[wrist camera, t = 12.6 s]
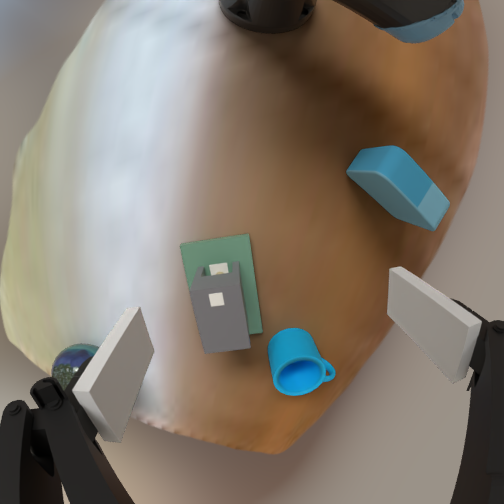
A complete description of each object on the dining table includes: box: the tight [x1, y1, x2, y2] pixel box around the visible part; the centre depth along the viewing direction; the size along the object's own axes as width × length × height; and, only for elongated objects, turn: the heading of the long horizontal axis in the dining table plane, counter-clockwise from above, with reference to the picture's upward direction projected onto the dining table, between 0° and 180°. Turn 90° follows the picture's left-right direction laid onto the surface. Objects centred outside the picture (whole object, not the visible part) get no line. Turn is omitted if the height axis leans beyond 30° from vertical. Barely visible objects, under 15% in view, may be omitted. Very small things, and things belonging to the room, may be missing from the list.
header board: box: [180, 234, 263, 334], centre depth 42 cm, size 16×10×4 cm, turn 8°
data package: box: [346, 145, 450, 231], centre depth 36 cm, size 12×4×12 cm, turn 55°
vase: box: [51, 344, 100, 390], centre depth 41 cm, size 15×15×13 cm
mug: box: [268, 328, 336, 396], centre depth 45 cm, size 12×8×8 cm
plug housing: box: [189, 261, 251, 354], centre depth 39 cm, size 9×6×9 cm, turn 8°
